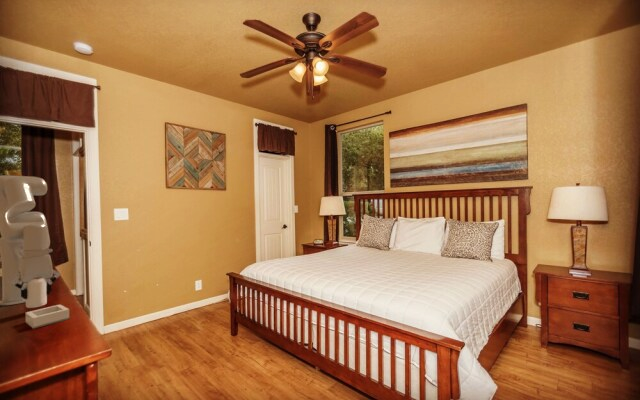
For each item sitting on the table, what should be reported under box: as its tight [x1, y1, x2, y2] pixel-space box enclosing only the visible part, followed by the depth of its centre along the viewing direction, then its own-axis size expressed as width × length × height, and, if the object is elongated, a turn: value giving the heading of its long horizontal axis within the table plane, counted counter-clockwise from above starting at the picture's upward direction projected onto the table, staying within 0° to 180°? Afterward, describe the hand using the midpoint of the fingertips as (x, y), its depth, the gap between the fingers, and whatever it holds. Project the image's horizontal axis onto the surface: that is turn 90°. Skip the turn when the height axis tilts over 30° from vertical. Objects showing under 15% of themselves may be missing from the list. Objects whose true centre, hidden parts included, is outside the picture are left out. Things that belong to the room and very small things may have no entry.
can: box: [25, 277, 48, 309], centre depth 126 cm, size 6×6×12 cm
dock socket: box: [25, 304, 70, 329], centre depth 116 cm, size 10×10×4 cm
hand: (36, 295), depth 126 cm, fingers closed on can, 6 cm apart
